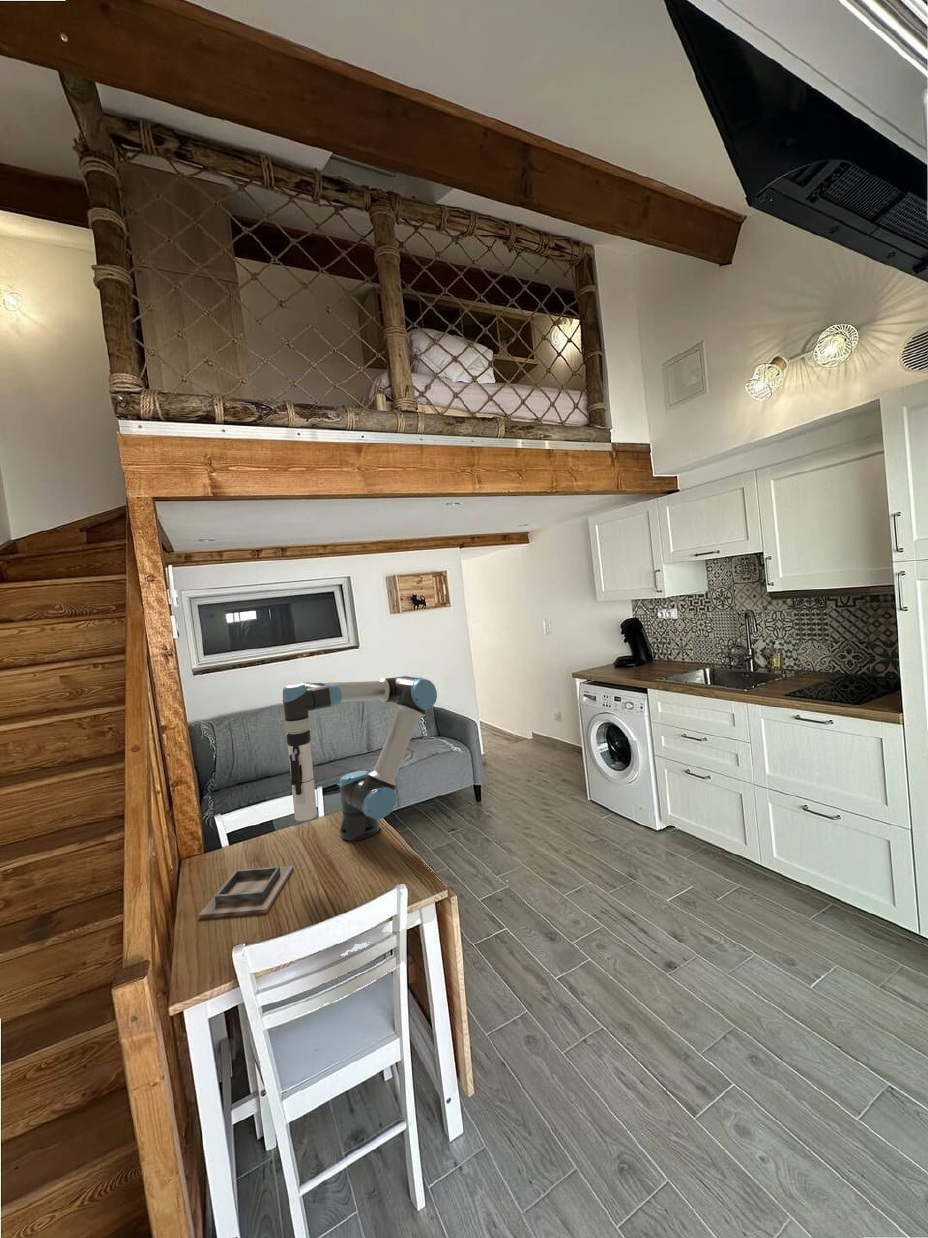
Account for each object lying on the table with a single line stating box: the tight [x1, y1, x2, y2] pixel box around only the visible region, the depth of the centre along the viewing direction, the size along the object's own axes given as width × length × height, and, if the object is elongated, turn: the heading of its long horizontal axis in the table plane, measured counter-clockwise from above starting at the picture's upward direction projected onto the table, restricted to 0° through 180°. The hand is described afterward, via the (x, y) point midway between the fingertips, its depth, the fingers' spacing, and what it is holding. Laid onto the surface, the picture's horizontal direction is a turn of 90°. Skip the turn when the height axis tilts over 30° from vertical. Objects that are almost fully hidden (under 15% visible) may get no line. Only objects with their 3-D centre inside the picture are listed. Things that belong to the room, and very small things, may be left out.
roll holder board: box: [198, 865, 294, 920], centre depth 160 cm, size 20×24×4 cm
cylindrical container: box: [287, 741, 318, 822], centre depth 168 cm, size 7×7×25 cm
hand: (304, 798), depth 169 cm, fingers closed on cylindrical container, 7 cm apart
